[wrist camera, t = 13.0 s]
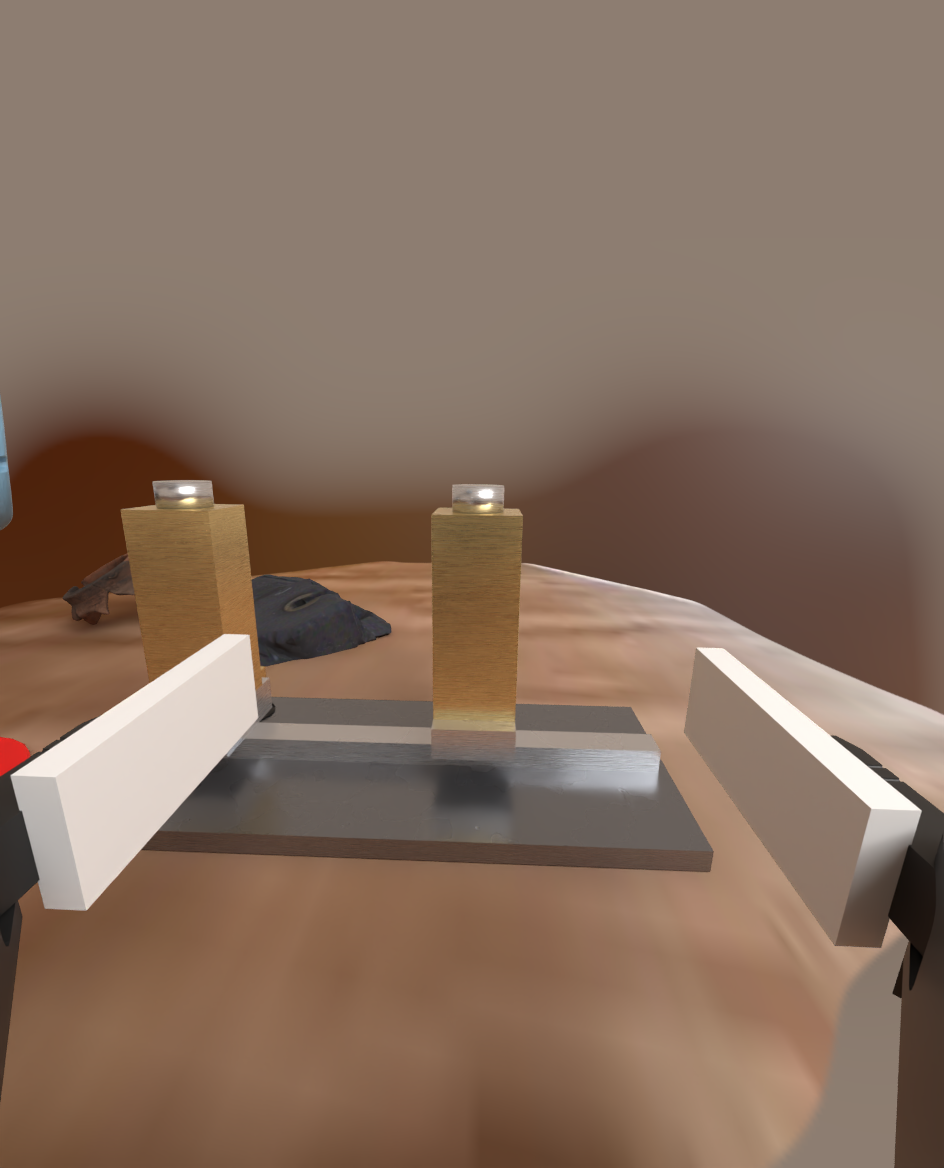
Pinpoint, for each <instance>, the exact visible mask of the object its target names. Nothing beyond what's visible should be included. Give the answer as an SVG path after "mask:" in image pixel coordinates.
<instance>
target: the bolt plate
mask: <svg viewBox="0 0 944 1168" xmlns="http://www.w3.org/2000/svg"><path fill="white" fill-rule="evenodd" d="M153 488H154V495H155V502H156V505H152V506H145V507H137V508H130V509H122V510H121V514H122V520H123V527H124V533H125V539H126V545H127V551H128V557H129V563H130V569H131V575H132V581H133V587H134V593H135V599H136V605H137V611H138V617H139V623H140V629H141V635H142V641H143V647H144V653H145V659H146V665H147V671H148V677H149V683H151V682H152V681H154V680H155V679H157V678H158V677H160V676H161V675H163V674H164V673H166V672H168V671H169V670H171V669H172V668H174V667H175V666H177V665H178V664H180V663H181V662H183V661H184V660H186V659H187V658H189V657H190V656H192V655H193V654H195V653H196V652H198V651H199V650H201V649H202V648H204V647H205V646H207V645H208V644H210V643H211V642H213V641H214V640H216V639H217V638H219V637H220V636H222V635H223V634H241V635H250V645H251V654H252V663H253V673H254V682H255V692H256V701H257V711H258V719H257V720H256V721H255V722H254V723H253V724H252V725H251V727H250V728H249V729H248V730H247V731H246V732H245V733H244V734H243V736H242V737H241V738H240V739H239V740H238V741H237V742H236V743H235V744H234V746H233V747H232V748H231V749H230V750H229V751H228V752H227V753H226V755H225V756H224V757H223V758H222V759H221V760H220V761H219V762H218V764H217V765H216V766H215V767H214V768H213V769H212V770H211V771H210V773H209V774H208V775H207V776H206V777H205V778H204V779H203V780H202V781H201V783H200V784H199V785H198V786H197V787H196V788H195V789H194V790H193V792H192V793H191V794H190V795H189V796H188V797H187V798H186V799H185V801H184V802H183V803H182V804H181V805H180V806H179V807H178V808H177V810H176V811H175V812H174V813H173V814H172V815H171V816H170V817H169V818H168V820H167V821H166V822H165V823H164V824H163V825H162V826H161V827H160V829H159V830H158V831H157V832H156V833H155V834H154V835H153V836H152V838H151V839H150V840H149V841H148V842H147V843H146V844H145V845H144V847H143V848H142V850H168V851H194V852H220V853H245V854H271V855H297V856H323V857H349V858H374V859H400V860H426V861H452V862H477V863H503V864H529V865H555V866H580V867H606V868H632V869H658V870H684V871H709V872H710V870H711V864H712V858H713V852H714V851H713V850H712V848H711V846H710V844H709V843H708V841H707V839H706V838H705V836H704V834H703V832H702V831H701V829H700V827H699V825H698V824H697V822H696V820H695V818H694V817H693V815H692V813H691V811H690V810H689V808H688V806H687V804H686V803H685V801H684V799H683V797H682V796H681V794H680V792H679V790H678V789H677V787H676V785H675V783H674V782H673V780H672V778H671V776H670V775H669V773H668V771H667V769H666V768H665V766H664V764H663V762H662V761H661V759H660V755H661V751H660V749H659V747H658V746H657V744H656V742H655V741H654V739H653V737H652V736H651V734H646V733H645V731H644V729H643V728H642V726H641V724H640V722H639V721H638V719H637V717H636V715H635V714H634V712H633V710H632V708H631V707H608V706H572V705H537V704H516V710H515V726H516V745H515V762H509V761H478V760H447V759H431V728H432V723H433V702H431V701H395V700H360V699H324V698H289V697H271V689H270V679H269V678H266V672H265V666H260V657H259V648H258V638H257V629H256V619H255V609H254V600H253V590H252V580H251V571H250V561H249V552H248V542H247V532H246V523H245V514H244V505H227V504H225V505H223V504H214V500H213V491H212V483H211V481H197V480H196V481H195V480H190V481H189V480H180V481H154V482H153Z"/></svg>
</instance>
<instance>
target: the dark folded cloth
mask: <svg viewBox="0 0 944 1168" xmlns="http://www.w3.org/2000/svg"><path fill="white" fill-rule="evenodd" d="M252 590H253V600H254V609H255V619H256V629H257V638H258V648H259V657H260V666H270V665H274V664H279V663H283V662H287V661H291V660H298V659H309V658H314V657H319V656H323V655H328V654H331V653H335V652H339V651H343V650H347V649H351V648H355V647H357V646H358V645H360V644H364V643H366V642H369V641H372V640H376V637H379V636H384V635H387V634H389V633H391V625H390V624H389V623H387V622H386V621H385V620H383V619H382V618H380V617H378V616H377V615H375V614H374V613H372V612H370V611H367V610H364V609H362V608H360V607H359V606H356V605H354V604H351V602H350V601H346V600H343V599H341V598H340V596H339V594H338V593H335V592H333V591H330V590H328V589H327V588H325V587H324V586H322V585H320V584H319V583H317V582H315V581H313V580H311V579H303V578H298V577H283V576H282V577H278V576H273V575H262V576H260V577H257V578H254V579H252Z"/></svg>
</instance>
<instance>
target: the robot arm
mask: <svg viewBox="0 0 944 1168" xmlns="http://www.w3.org/2000/svg"><path fill="white" fill-rule="evenodd" d="M12 516H13V508H12V498H11V489H10V479H9V471H8V463H7V451H6V441H5V431H4V422H3V414H2V405H1V397H0V530H1V529H3V528H4V527H6V526H7V525H8V524H9V522H10V521H11V519H12ZM257 719H258V711H257V701H256V692H255V682H254V673H253V663H252V654H251V645H250V635H241V634H223V635H222V636H220V637H219V638H217V639H216V640H214V641H213V642H211V643H210V644H208V645H207V646H205V647H204V648H202V649H201V650H199V651H198V652H196V653H195V654H193V655H192V656H190V657H189V658H187V659H186V660H184V661H183V662H181V663H180V664H178V665H177V666H175V667H174V668H172V669H171V670H169V671H168V672H166V673H164V674H163V675H161V676H160V677H158V678H157V679H155V680H154V681H152V682H151V683H149V684H148V685H146V686H145V687H143V688H142V689H140V690H139V691H137V692H136V693H134V694H133V695H131V696H130V697H128V698H127V699H125V700H124V701H122V702H121V703H119V704H118V705H116V706H115V707H113V708H112V709H110V710H109V711H107V712H106V713H104V714H103V715H101V716H98V717H96V718H94V719H91V720H89V721H87V722H84V723H82V724H80V725H79V726H77V727H76V728H74V729H72V730H71V731H69V732H68V733H66V734H65V735H63V736H62V737H60V740H56V741H54V742H52V743H51V744H49V745H48V746H46V747H45V748H43V751H42V752H37V753H36V754H34V755H32V756H31V757H29V758H28V759H26V760H25V761H23V762H22V763H20V764H19V765H17V766H16V767H14V768H12V769H11V770H9V771H8V772H6V773H5V774H3V775H2V776H0V1100H1V1092H2V1084H3V1075H4V1067H5V1058H6V1050H7V1042H8V1033H9V1025H10V1016H11V1008H12V1000H13V991H14V983H15V975H16V966H17V958H18V949H19V941H20V933H21V924H22V913H21V910H20V906H19V903H18V899H20V898H21V897H22V896H23V895H24V894H25V893H26V892H27V891H28V890H29V889H30V888H31V887H32V886H33V885H34V884H36V883H37V882H38V884H39V888H40V892H41V895H42V899H43V903H44V907H45V909H66V910H87V909H88V908H89V907H90V906H91V905H92V904H93V903H94V901H95V900H96V899H97V898H98V897H99V896H100V895H101V894H102V892H103V891H104V890H105V889H106V888H107V887H108V886H109V885H110V884H111V882H112V881H113V880H114V879H115V878H116V877H117V876H118V875H119V873H120V872H121V871H122V870H123V869H124V868H125V867H126V866H127V864H128V863H129V862H130V861H131V860H132V859H133V858H134V857H135V855H136V854H137V853H138V852H139V851H140V850H141V849H142V848H143V847H144V845H145V844H146V843H147V842H148V841H149V840H150V839H151V838H152V836H153V835H154V834H155V833H156V832H157V831H158V830H159V829H160V827H161V826H162V825H163V824H164V823H165V822H166V821H167V820H168V818H169V817H170V816H171V815H172V814H173V813H174V812H175V811H176V810H177V808H178V807H179V806H180V805H181V804H182V803H183V802H184V801H185V799H186V798H187V797H188V796H189V795H190V794H191V793H192V792H193V790H194V789H195V788H196V787H197V786H198V785H199V784H200V783H201V781H202V780H203V779H204V778H205V777H206V776H207V775H208V774H209V773H210V771H211V770H212V769H213V768H214V767H215V766H216V765H217V764H218V762H219V761H220V760H221V759H222V758H223V757H224V756H225V755H226V753H227V752H228V751H229V750H230V749H231V748H232V747H233V746H234V744H235V743H236V742H237V741H238V740H239V739H240V738H241V737H242V736H243V734H244V733H245V732H246V731H247V730H248V729H249V728H250V727H251V725H252V724H253V723H254V722H255V721H256V720H257ZM684 733H685V734H686V736H687V737H688V739H689V740H690V742H691V743H692V744H693V746H694V747H695V749H696V750H697V751H698V753H699V754H700V756H701V757H702V758H703V760H704V761H705V763H706V764H707V766H708V767H709V768H710V770H711V771H712V773H713V774H714V775H715V777H716V778H717V780H718V781H719V783H720V784H721V785H722V787H723V788H724V790H725V791H726V792H727V794H728V795H729V797H730V798H731V799H732V801H733V802H734V804H735V805H736V807H737V808H738V809H739V811H740V812H741V814H742V815H743V816H744V818H745V819H746V821H747V822H748V824H749V825H750V826H751V828H752V829H753V831H754V832H755V833H756V835H757V836H758V838H759V839H760V840H761V842H762V843H763V845H764V846H765V848H766V849H767V850H768V852H769V853H770V855H771V856H772V857H773V859H774V860H775V862H776V863H777V865H778V866H779V867H780V869H781V870H782V872H783V873H784V874H785V876H786V877H787V879H788V880H789V881H790V883H791V884H792V886H793V887H794V889H795V890H796V891H797V893H798V894H799V896H800V897H801V898H802V900H803V901H804V903H805V904H806V906H807V907H808V908H809V910H810V911H811V913H812V914H813V915H814V917H815V918H816V920H817V921H818V922H819V924H820V925H821V927H822V928H823V930H824V931H825V932H826V934H827V935H828V937H829V938H830V939H831V941H832V942H833V944H834V945H835V946H851V947H872V948H881V946H882V943H883V939H884V936H885V933H886V929H887V926H888V922H889V919H891V920H892V922H893V923H894V924H895V925H896V926H897V927H898V928H899V930H900V931H901V932H902V933H903V934H904V935H905V936H906V938H907V939H908V940H909V942H908V945H907V949H906V952H905V955H904V958H903V961H902V965H901V968H900V971H899V974H898V977H897V980H896V984H895V987H894V990H893V994H894V995H896V996H898V997H900V998H902V1004H901V1005H902V1006H901V1028H900V1050H899V1074H898V1097H897V1098H898V1099H897V1120H896V1121H897V1122H896V1144H895V1167H894V1168H944V813H943V812H941V811H940V810H939V809H938V808H936V807H935V806H934V805H932V804H931V803H930V802H929V801H927V800H926V799H925V798H924V797H922V796H921V795H920V794H918V793H917V792H916V791H915V790H913V789H912V788H911V787H909V786H908V785H907V784H906V783H904V782H900V781H899V778H898V777H897V776H895V775H894V774H893V773H892V772H890V771H889V770H888V769H886V768H883V767H882V765H881V764H880V763H879V762H878V761H876V760H875V759H874V758H872V757H871V756H870V755H869V754H867V753H866V752H865V751H863V750H862V749H860V748H858V747H856V746H855V745H853V744H851V743H849V742H847V741H845V740H843V739H841V738H839V737H837V736H830V735H828V734H827V733H826V732H825V731H824V730H822V729H821V728H820V727H819V726H817V725H816V724H815V723H814V722H813V721H811V720H810V719H809V718H808V717H806V716H805V715H804V714H803V713H802V712H800V711H799V710H798V709H797V708H795V707H794V706H793V705H792V704H791V703H789V702H788V701H787V700H786V699H784V698H783V697H782V696H781V695H779V694H778V693H777V692H776V691H775V690H773V689H772V688H771V687H770V686H768V685H767V684H766V683H765V682H764V681H762V680H761V679H760V678H759V677H757V676H756V675H755V674H754V673H753V672H751V671H750V670H749V669H748V668H746V667H745V666H744V665H743V664H742V663H740V662H739V661H738V660H737V659H735V658H734V657H733V656H732V655H731V654H729V653H728V652H727V651H726V650H724V649H723V648H696V653H695V660H694V667H693V674H692V680H691V687H690V694H689V701H688V708H687V715H686V722H685V729H684Z"/></svg>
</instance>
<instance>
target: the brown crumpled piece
mask: <svg viewBox="0 0 944 1168" xmlns="http://www.w3.org/2000/svg"><path fill="white" fill-rule="evenodd" d="M81 583H82V584H83V585H84V586H85V587H83V588H81V589H79V588H78V587H76V586H74V587H72V588H71V589H70V590H69V591H68V592H67V593H66V594H65V595H64V596H63V599H64V600H65V601H67V602H68V603H69V604H70V605H71V606H72V618H73V620H77V621H78V620H81V619H82V618H83V619H84V620H85V621H87V622H89V623H90V624H96V623H97V622H98V620H99V619H100V617H101V613H102V614H109V611H108V593H109V592H111V593H114V594H116V595H135V593H134V587H133V581H132V575H131V569H130V563H129V557H128V554H125V555H122V556H120V557H118V558H117V559H114V560H113V561H111V562H109V563H108V564H106V565H104V566H102V567H101V568H99V569H98V570H96V571H95V572H93V573H92V574H91V575H89V576H87V577H86V578H85V579H83V581H82V582H81Z"/></svg>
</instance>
